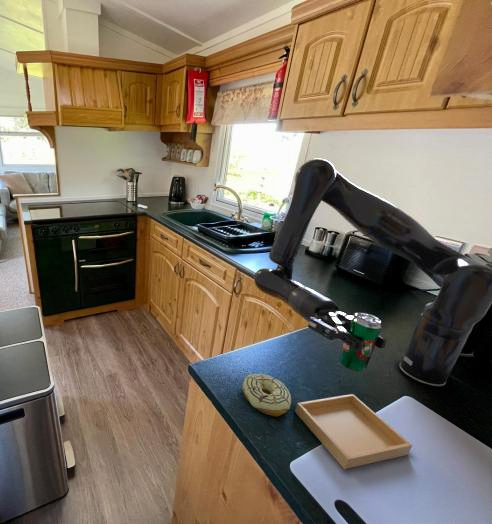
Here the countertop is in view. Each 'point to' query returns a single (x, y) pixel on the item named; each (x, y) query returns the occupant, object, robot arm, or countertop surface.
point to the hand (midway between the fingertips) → (372, 345)
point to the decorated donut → (267, 394)
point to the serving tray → (352, 430)
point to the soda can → (367, 332)
